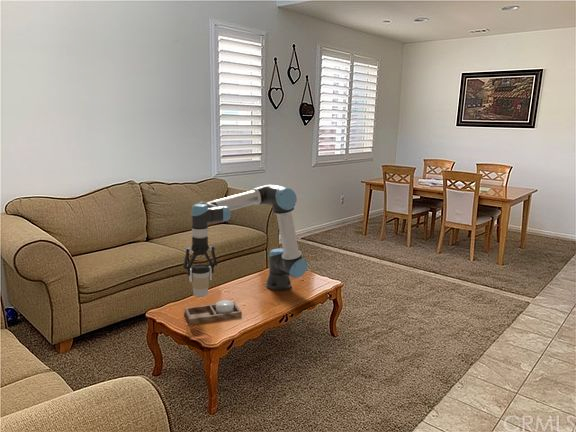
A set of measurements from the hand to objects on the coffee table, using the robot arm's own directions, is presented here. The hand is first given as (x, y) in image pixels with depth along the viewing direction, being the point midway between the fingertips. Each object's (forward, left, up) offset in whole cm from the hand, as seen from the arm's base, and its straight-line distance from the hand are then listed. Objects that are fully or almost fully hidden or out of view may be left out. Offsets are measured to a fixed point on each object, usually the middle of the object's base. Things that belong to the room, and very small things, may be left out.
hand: (200, 280), depth 218 cm
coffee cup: (0, 0, -8) cm, 8 cm away
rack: (-6, 0, -20) cm, 21 cm away
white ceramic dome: (-12, 0, -19) cm, 23 cm away
